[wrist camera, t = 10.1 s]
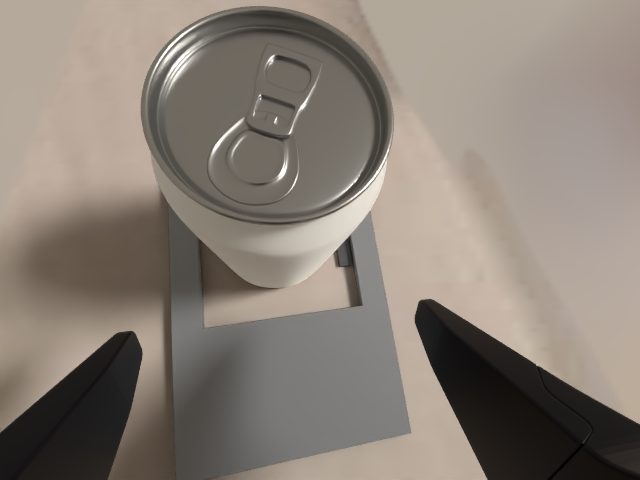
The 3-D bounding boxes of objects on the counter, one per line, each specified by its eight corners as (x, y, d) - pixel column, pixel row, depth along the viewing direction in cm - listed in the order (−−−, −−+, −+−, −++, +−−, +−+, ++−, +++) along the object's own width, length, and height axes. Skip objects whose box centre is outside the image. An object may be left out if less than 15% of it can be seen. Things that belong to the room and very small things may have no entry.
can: (205, 271, 17) (56, 187, 6) (242, 174, 19) (187, -45, 7) (312, 302, 18) (380, 284, 6) (339, 204, 19) (432, 44, 8)
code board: (406, 428, 17) (411, 433, 16) (179, 479, 15) (175, 486, 14) (359, 168, 20) (361, 164, 20) (170, 180, 18) (167, 175, 17)
